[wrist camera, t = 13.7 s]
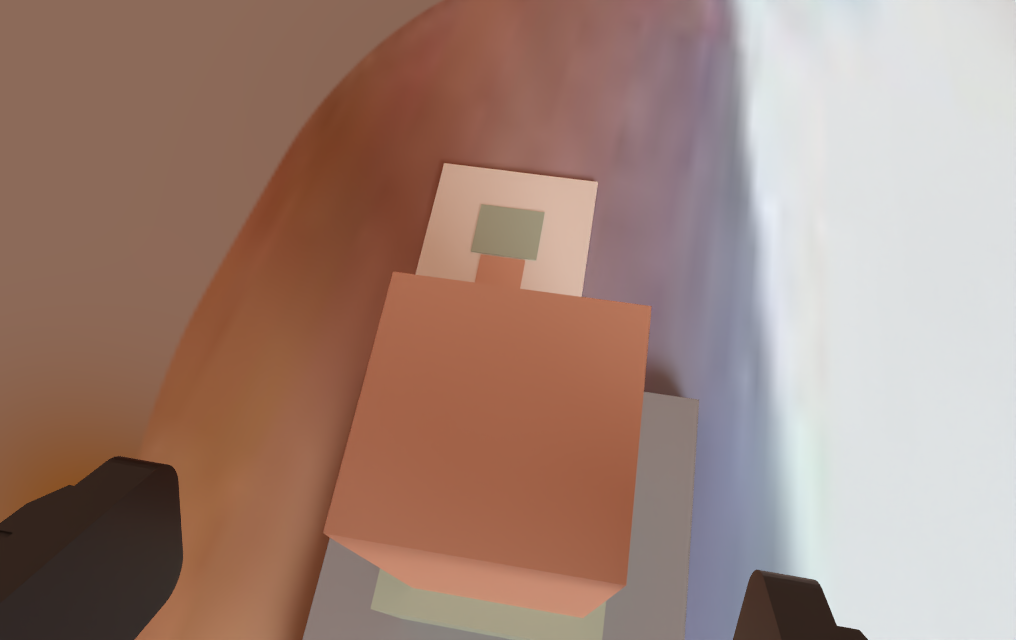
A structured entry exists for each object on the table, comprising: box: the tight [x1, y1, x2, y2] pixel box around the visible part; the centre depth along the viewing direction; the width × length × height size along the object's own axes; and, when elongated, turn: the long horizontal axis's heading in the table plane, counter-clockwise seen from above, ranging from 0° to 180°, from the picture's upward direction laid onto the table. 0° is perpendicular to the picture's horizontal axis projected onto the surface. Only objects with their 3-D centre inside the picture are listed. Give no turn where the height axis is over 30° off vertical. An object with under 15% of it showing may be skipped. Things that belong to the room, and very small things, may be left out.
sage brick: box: [371, 568, 606, 640], centre depth 22 cm, size 6×6×5 cm
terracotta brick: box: [323, 272, 651, 618], centre depth 15 cm, size 4×4×9 cm
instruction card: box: [415, 163, 598, 297], centre depth 30 cm, size 10×7×1 cm
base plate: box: [302, 392, 699, 640], centre depth 25 cm, size 12×12×2 cm
